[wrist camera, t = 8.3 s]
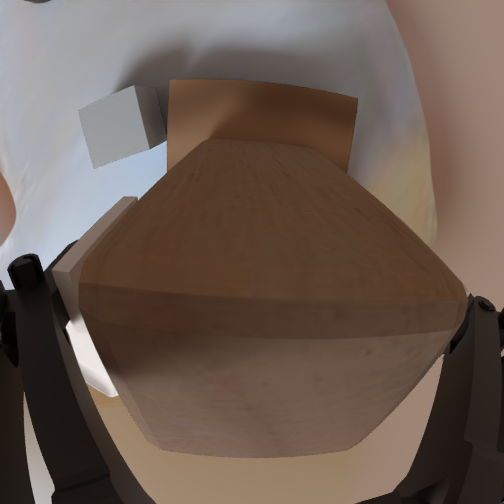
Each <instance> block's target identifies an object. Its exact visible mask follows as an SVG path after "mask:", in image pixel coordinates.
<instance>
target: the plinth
mask: <svg viewBox="0 0 504 504" xmlns="http://www.w3.org/2000/svg"><path fill="white" fill-rule="evenodd" d="M357 105H358V98H354V97H349V96H345V95H341V94H336V93H331V92H327V91H321V90H316V89H310V88H305V87H298V86H291V85H284V84H276V83H267V82H257V81H244V80H224V79H178V80H170V84H169V100H168V123H167V172H168V171H169V170H170V169H172V168H173V167H174V166H175V165H176V164H177V163H178V162H179V161H180V160H181V159H183V158H184V157H185V156H186V155H187V154H188V153H189V152H190V151H192V150H193V149H194V148H195V147H196V146H197V145H199V144H200V143H201V142H202V141H205V140H208V139H210V138H216V139H234V140H248V141H259V142H269V143H278V144H287V145H295V146H302V147H309V148H311V149H313V150H314V151H316V152H318V153H319V154H320V155H322V156H323V157H325V158H326V159H327V160H329V161H330V162H331V163H333V164H334V165H335V166H337V167H338V168H339V169H341V170H342V171H343V172H345V173H347V168H348V163H349V157H350V151H351V145H352V139H353V133H354V127H355V120H356V113H357Z"/></svg>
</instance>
